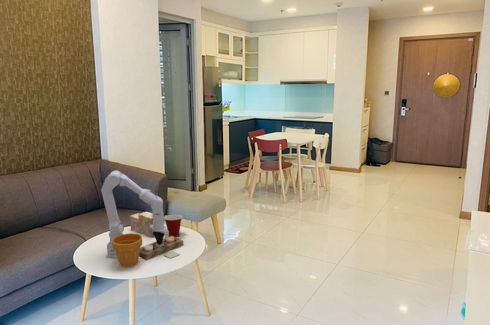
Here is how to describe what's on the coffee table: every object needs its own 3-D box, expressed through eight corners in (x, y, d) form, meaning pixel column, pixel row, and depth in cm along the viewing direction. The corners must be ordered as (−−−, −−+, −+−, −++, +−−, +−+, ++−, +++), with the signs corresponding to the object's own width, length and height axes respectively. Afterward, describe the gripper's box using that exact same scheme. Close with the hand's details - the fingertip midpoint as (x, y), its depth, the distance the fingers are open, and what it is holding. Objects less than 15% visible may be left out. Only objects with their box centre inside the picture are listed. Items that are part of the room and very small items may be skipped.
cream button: (147, 254, 192) (147, 248, 191) (142, 251, 194) (142, 246, 194) (154, 251, 195) (154, 246, 194) (149, 248, 198) (149, 243, 197)
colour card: (170, 258, 189) (170, 257, 189) (163, 255, 193) (163, 254, 193) (179, 254, 194) (179, 254, 194) (172, 251, 198) (172, 250, 198)
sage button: (159, 251, 197) (158, 246, 196) (154, 249, 200) (153, 244, 199) (165, 248, 200) (165, 243, 200) (160, 246, 203) (160, 241, 203)
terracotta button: (169, 245, 202) (169, 240, 201) (164, 243, 205) (164, 238, 204) (176, 242, 205) (175, 237, 205) (171, 240, 208) (170, 235, 207)
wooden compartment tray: (146, 260, 188) (146, 254, 187) (135, 254, 195) (135, 249, 194) (183, 245, 206) (183, 240, 205) (172, 240, 212) (171, 235, 212)
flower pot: (120, 256, 193) (118, 233, 190) (147, 256, 192) (145, 233, 190) (109, 269, 179) (107, 244, 176) (138, 269, 178) (136, 244, 176)
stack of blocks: (130, 230, 229) (129, 211, 227) (139, 227, 234) (137, 208, 232) (152, 238, 216) (150, 218, 214) (160, 235, 221) (159, 215, 218)
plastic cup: (185, 232, 224) (184, 213, 222) (181, 239, 214) (180, 219, 211) (167, 232, 225) (166, 213, 223) (162, 239, 214) (161, 219, 212)
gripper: (172, 221, 195) (174, 245, 198) (156, 215, 204) (157, 238, 207) (161, 224, 190) (163, 249, 193) (145, 218, 199) (147, 242, 202)
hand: (159, 244), depth 199 cm, fingers closed, pressing on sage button
